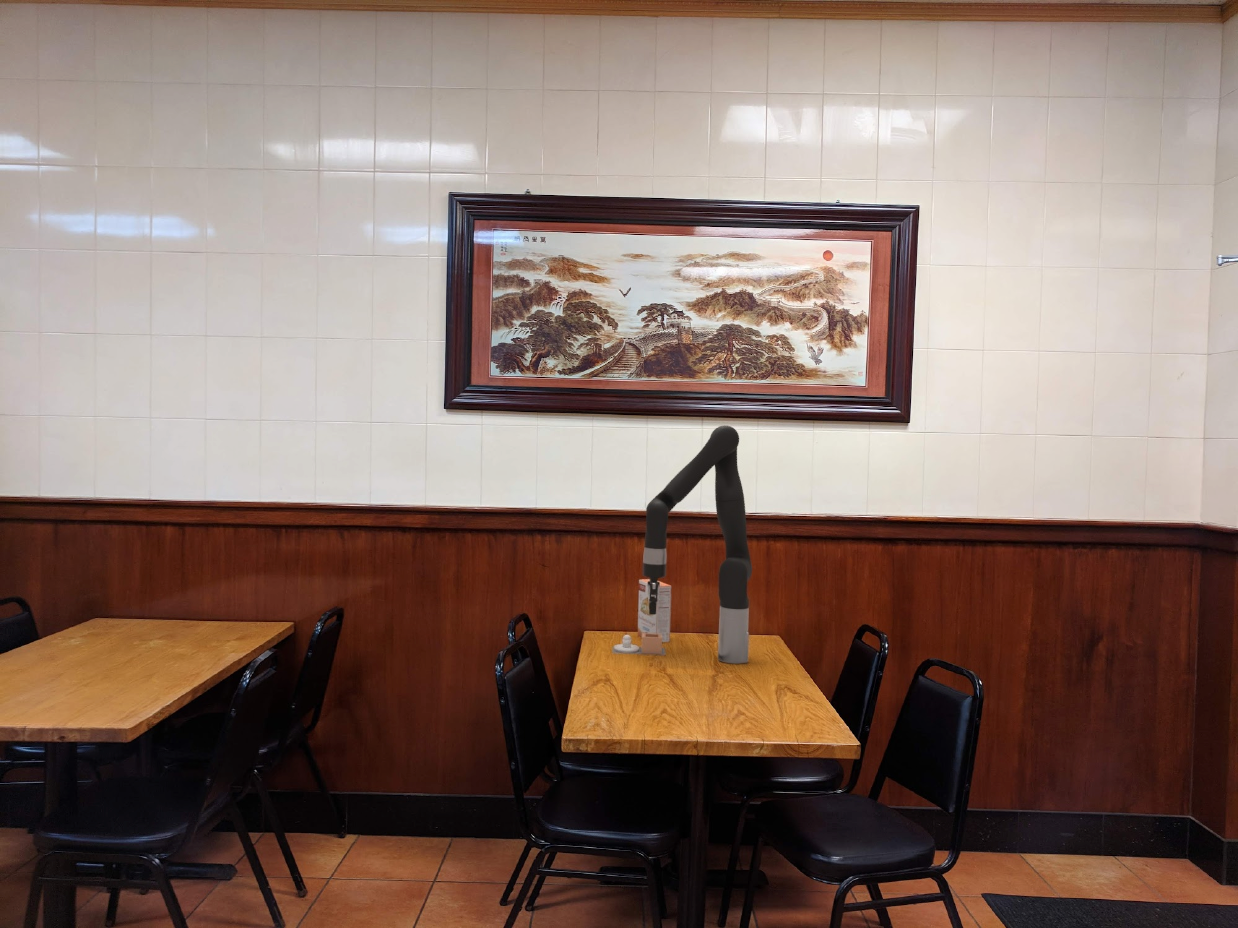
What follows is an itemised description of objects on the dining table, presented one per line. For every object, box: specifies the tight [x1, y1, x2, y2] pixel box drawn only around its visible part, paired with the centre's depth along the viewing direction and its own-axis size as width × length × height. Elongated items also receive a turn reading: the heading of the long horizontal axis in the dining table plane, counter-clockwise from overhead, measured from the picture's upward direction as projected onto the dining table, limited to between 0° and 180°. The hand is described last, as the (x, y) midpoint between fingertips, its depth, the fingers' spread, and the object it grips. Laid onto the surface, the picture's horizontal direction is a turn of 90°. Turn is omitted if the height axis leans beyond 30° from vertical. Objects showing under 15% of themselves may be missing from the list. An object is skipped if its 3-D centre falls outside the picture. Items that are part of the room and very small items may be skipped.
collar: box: [640, 633, 663, 654], centre depth 263 cm, size 6×6×5 cm
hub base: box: [612, 634, 667, 656], centre depth 264 cm, size 17×9×6 cm, turn 89°
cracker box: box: [637, 578, 672, 643], centre depth 282 cm, size 14×6×21 cm, turn 25°
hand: (652, 611), depth 263 cm, fingers open, 8 cm apart
